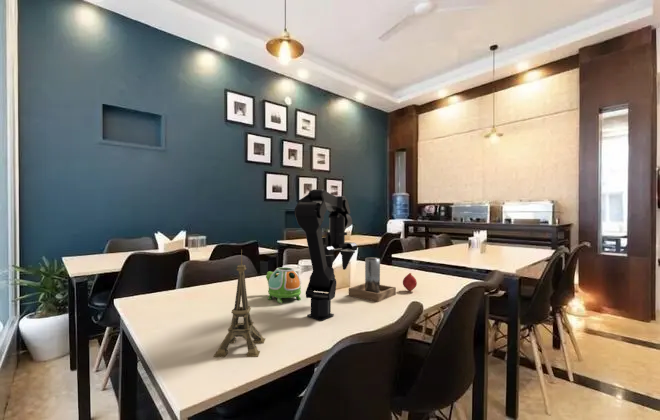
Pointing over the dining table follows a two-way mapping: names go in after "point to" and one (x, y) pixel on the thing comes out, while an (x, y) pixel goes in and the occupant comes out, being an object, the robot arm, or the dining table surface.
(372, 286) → the tin
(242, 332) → the eiffel tower
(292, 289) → the turtle holder
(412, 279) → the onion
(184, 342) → the dining table surface
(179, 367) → the dining table surface
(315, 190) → the robot arm
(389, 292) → the tray
